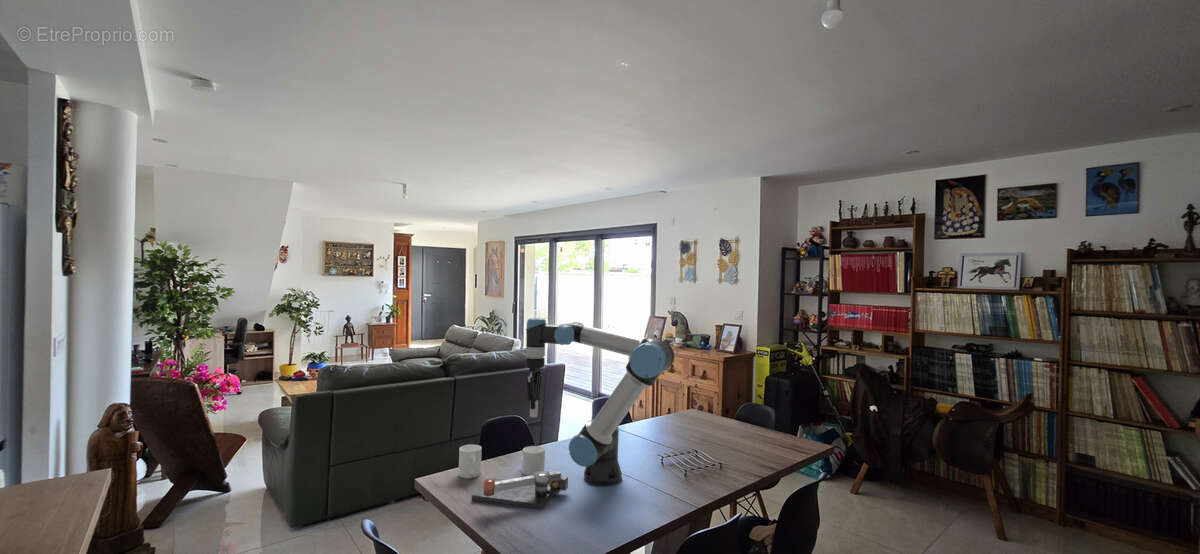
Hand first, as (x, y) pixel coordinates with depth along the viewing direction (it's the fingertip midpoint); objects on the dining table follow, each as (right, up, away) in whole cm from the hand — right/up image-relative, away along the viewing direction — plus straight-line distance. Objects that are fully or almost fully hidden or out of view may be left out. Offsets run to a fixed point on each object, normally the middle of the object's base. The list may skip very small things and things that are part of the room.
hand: (533, 416), depth 195 cm
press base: (-2, -24, -18) cm, 30 cm away
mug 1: (-25, -24, 0) cm, 35 cm away
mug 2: (-2, -25, +7) cm, 26 cm away
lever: (-1, -19, -23) cm, 29 cm away
